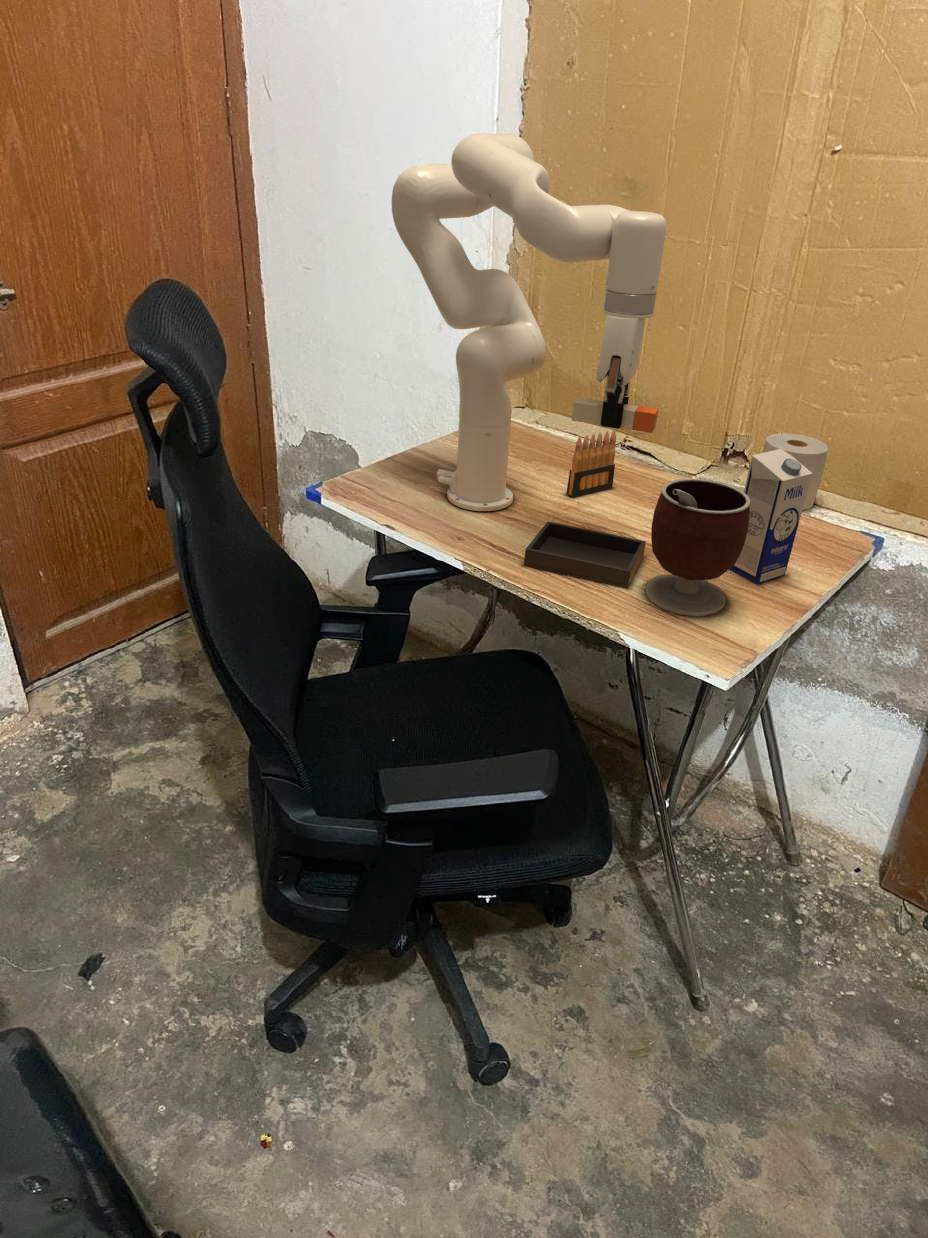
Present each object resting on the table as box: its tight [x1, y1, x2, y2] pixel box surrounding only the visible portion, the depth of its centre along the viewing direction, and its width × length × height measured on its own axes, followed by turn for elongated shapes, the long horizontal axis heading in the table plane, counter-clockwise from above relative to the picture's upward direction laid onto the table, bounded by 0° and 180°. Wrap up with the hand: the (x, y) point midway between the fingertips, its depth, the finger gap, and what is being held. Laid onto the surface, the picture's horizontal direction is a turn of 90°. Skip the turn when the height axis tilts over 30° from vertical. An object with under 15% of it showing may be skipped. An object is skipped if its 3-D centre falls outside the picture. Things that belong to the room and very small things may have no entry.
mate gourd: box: [645, 478, 750, 617], centre depth 130 cm, size 16×14×20 cm
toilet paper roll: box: [761, 432, 829, 511], centre depth 170 cm, size 12×12×12 cm
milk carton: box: [729, 449, 813, 585], centre depth 140 cm, size 7×7×20 cm
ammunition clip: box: [566, 429, 617, 499], centre depth 169 cm, size 11×2×12 cm, turn 124°
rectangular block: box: [571, 397, 659, 434], centre depth 137 cm, size 13×3×3 cm, turn 70°
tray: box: [523, 521, 647, 589], centre depth 144 cm, size 17×12×3 cm
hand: (613, 422), depth 138 cm, fingers closed on rectangular block, 3 cm apart
